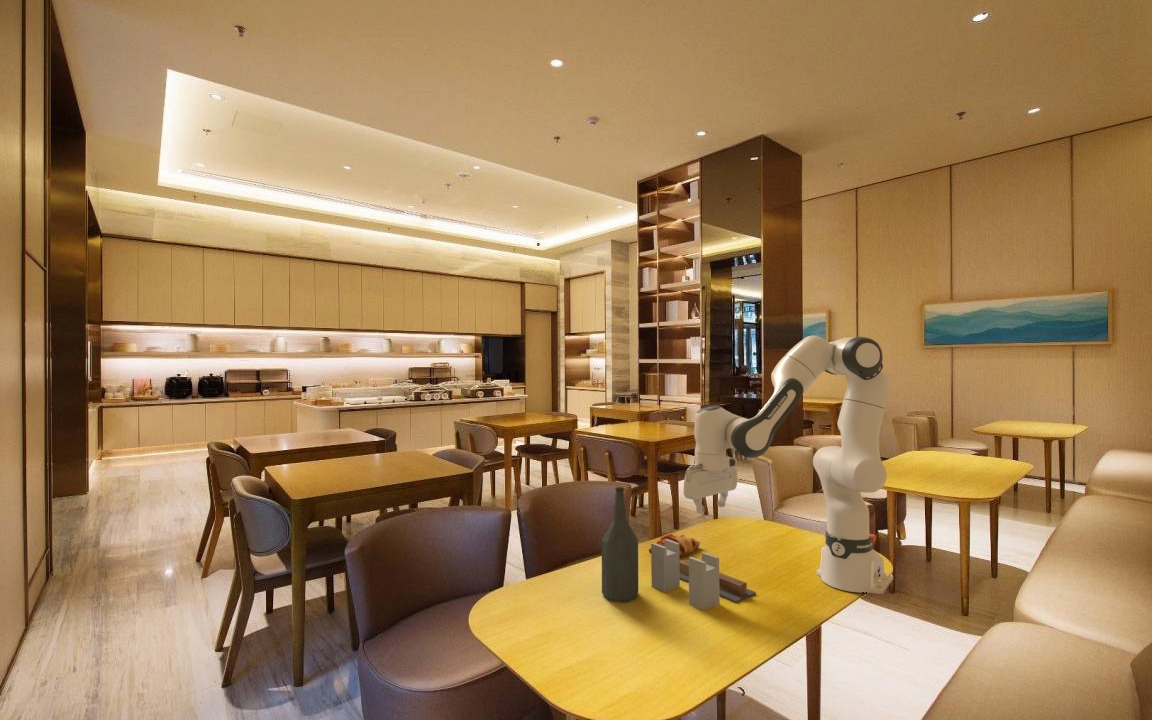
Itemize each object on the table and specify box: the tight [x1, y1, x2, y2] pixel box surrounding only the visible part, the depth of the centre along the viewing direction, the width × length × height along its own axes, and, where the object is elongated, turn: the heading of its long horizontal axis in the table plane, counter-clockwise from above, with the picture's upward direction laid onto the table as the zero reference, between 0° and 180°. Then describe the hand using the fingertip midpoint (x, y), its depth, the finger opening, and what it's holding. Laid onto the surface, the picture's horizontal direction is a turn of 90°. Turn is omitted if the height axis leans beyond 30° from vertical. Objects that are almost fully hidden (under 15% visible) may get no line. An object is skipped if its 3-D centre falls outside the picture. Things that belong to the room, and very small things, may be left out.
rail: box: [680, 559, 748, 597], centre depth 152 cm, size 3×22×3 cm, turn 37°
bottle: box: [601, 486, 639, 603], centre depth 146 cm, size 10×10×30 cm
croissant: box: [648, 533, 701, 557], centre depth 178 cm, size 21×10×8 cm, turn 119°
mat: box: [680, 572, 757, 604], centre depth 152 cm, size 9×24×1 cm, turn 37°
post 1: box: [650, 539, 681, 593], centre depth 151 cm, size 6×5×12 cm
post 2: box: [688, 552, 721, 612], centre depth 140 cm, size 6×5×12 cm
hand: (711, 509), depth 152 cm, fingers open, 8 cm apart
